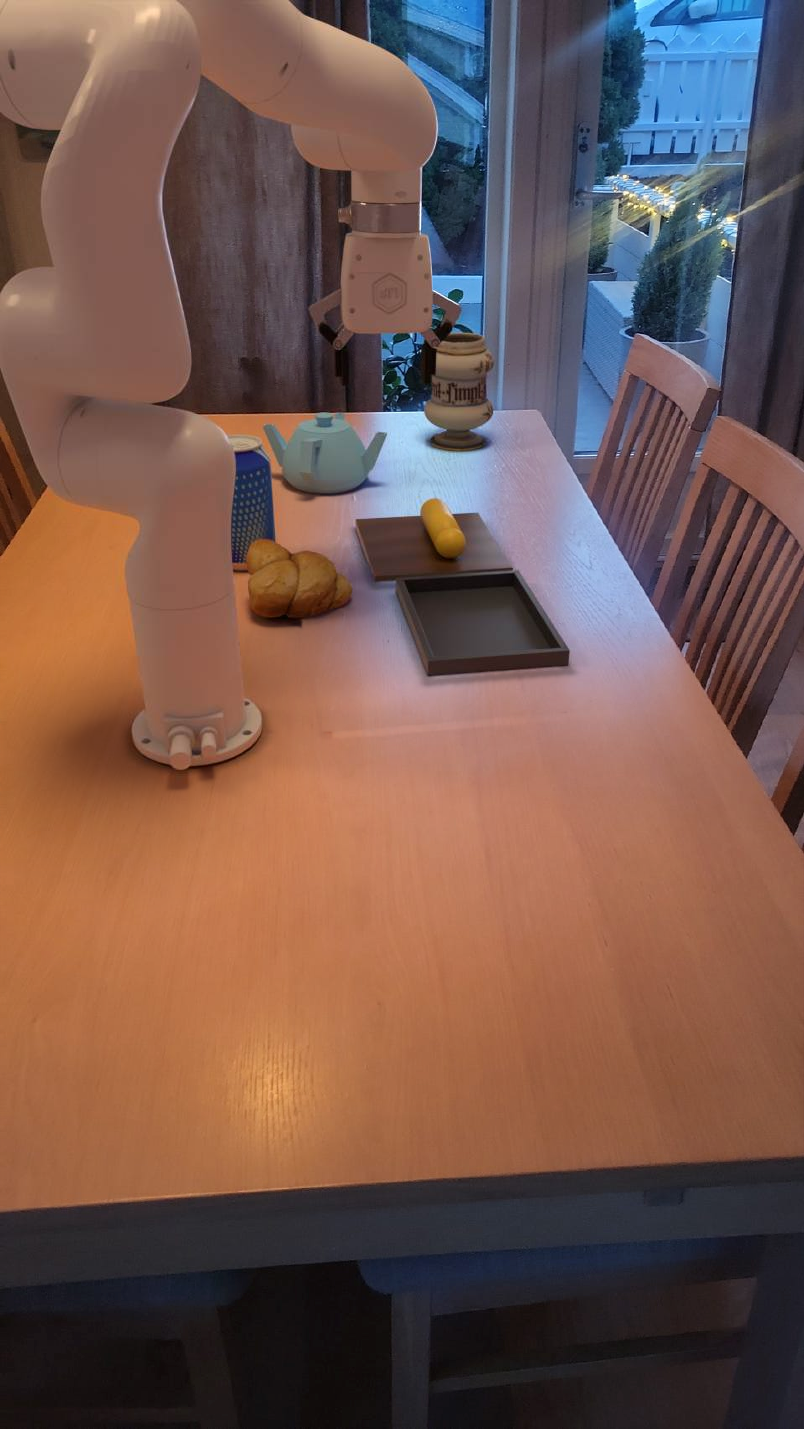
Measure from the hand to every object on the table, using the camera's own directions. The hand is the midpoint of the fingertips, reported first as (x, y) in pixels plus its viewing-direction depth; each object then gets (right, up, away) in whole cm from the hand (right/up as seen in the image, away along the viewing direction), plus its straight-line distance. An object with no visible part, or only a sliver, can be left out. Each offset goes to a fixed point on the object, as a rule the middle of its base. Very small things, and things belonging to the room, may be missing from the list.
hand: (385, 382), depth 120 cm
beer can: (-19, -18, +18) cm, 32 cm away
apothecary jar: (+12, +9, +63) cm, 64 cm away
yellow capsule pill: (+6, -15, +19) cm, 25 cm away
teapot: (-10, -2, +45) cm, 46 cm away
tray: (+11, -29, 0) cm, 31 cm away
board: (+6, -17, +20) cm, 27 cm away
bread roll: (-10, -26, +5) cm, 29 cm away
